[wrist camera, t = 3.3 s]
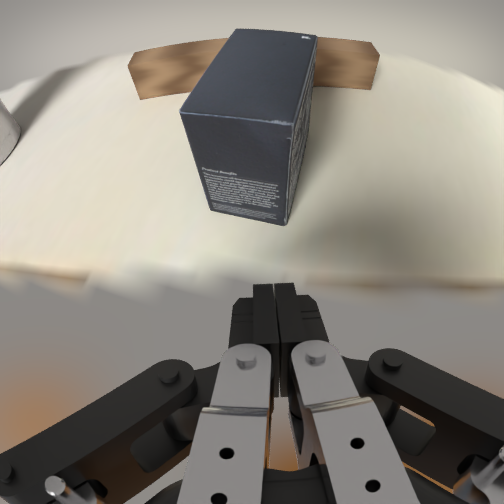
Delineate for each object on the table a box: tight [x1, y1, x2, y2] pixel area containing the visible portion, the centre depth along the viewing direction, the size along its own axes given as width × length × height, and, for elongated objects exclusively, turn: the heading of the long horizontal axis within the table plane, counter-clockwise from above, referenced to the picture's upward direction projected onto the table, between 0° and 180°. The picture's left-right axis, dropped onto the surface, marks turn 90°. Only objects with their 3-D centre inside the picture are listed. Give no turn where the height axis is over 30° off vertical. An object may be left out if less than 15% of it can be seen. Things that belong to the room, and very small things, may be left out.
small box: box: [179, 29, 318, 226], centre depth 20 cm, size 11×6×10 cm, turn 165°
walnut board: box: [128, 37, 380, 100], centre depth 28 cm, size 26×3×5 cm, turn 92°
